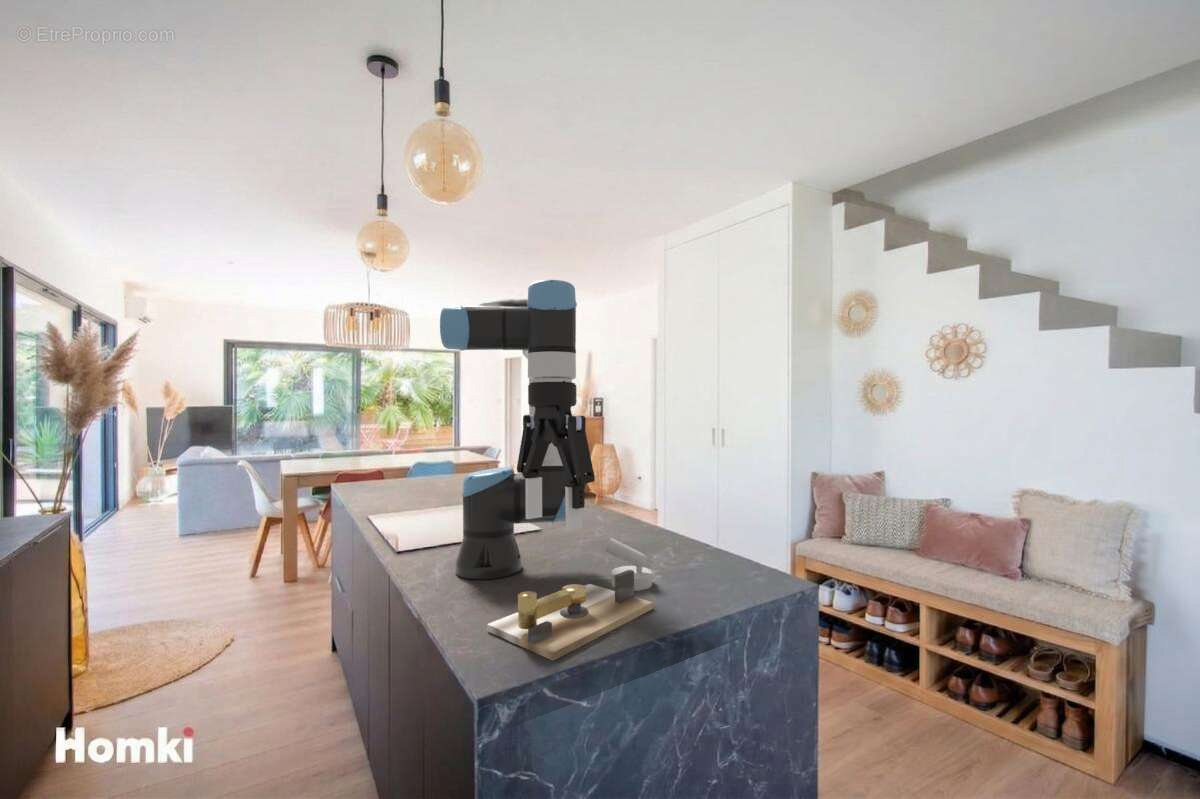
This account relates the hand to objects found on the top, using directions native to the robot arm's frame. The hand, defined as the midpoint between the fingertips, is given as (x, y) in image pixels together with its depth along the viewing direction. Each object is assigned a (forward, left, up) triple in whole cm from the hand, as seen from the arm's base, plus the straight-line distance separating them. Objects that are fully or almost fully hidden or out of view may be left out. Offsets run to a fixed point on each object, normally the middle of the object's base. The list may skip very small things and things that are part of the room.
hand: (553, 523), depth 82 cm
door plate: (-6, +11, -20) cm, 23 cm away
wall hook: (-10, +32, -20) cm, 39 cm away
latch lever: (-6, +6, -17) cm, 19 cm away
